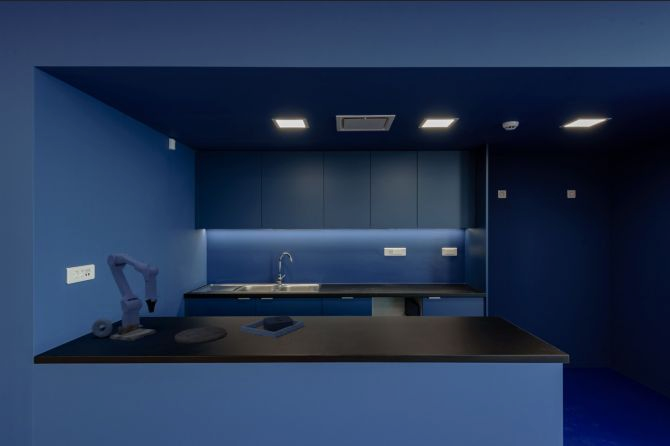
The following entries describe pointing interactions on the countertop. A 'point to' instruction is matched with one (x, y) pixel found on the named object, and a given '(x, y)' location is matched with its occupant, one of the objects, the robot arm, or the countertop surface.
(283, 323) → the streaming box
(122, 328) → the stool leg
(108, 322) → the donut
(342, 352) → the countertop surface
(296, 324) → the tray
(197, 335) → the trivet
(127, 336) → the stool seat
